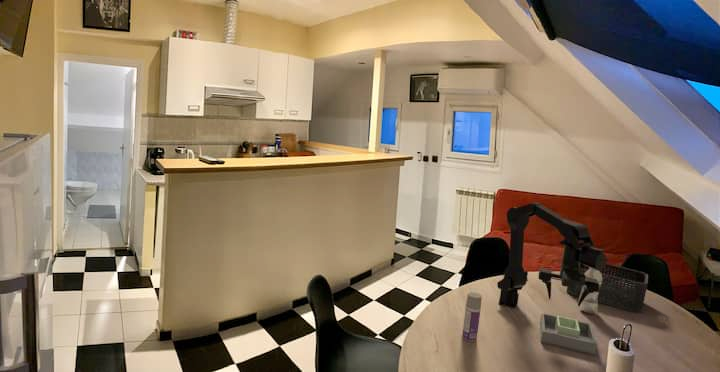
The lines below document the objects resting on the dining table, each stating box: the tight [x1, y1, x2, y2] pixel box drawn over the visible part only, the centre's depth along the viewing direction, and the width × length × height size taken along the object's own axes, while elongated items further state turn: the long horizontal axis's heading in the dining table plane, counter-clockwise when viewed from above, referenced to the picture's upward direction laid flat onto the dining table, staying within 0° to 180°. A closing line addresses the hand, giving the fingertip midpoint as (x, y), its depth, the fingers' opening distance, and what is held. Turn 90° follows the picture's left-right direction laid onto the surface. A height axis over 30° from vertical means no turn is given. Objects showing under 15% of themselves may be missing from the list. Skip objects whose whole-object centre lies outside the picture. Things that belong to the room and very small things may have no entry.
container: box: [461, 291, 483, 343], centre depth 135 cm, size 5×5×15 cm
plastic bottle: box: [578, 267, 603, 314], centre depth 163 cm, size 6×7×20 cm
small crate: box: [555, 315, 580, 339], centre depth 140 cm, size 6×9×5 cm
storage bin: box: [566, 263, 649, 314], centre depth 182 cm, size 29×19×13 cm
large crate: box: [539, 312, 598, 357], centre depth 141 cm, size 16×16×4 cm
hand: (563, 302), depth 144 cm, fingers open, 9 cm apart
